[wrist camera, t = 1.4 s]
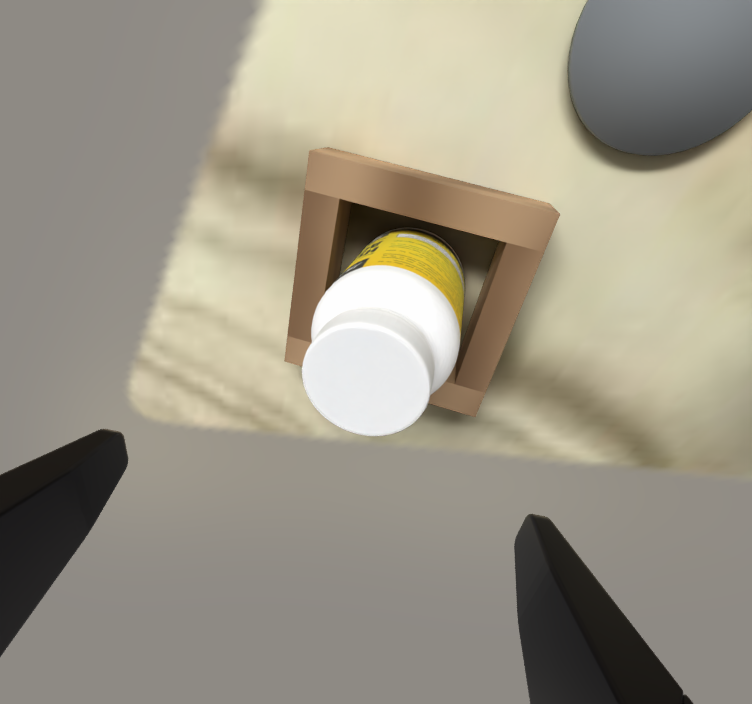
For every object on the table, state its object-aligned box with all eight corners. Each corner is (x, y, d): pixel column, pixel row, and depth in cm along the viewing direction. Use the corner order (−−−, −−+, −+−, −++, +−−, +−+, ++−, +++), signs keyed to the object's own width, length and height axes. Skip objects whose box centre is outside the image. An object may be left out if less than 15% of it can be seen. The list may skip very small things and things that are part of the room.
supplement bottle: (383, 203, 20) (315, 264, 11) (486, 258, 20) (496, 357, 11) (340, 300, 22) (258, 407, 14) (431, 347, 23) (406, 480, 14)
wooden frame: (549, 203, 18) (560, 214, 16) (474, 389, 23) (475, 417, 21) (327, 147, 19) (309, 150, 17) (301, 339, 24) (284, 361, 22)
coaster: (851, -65, 13) (867, -73, 13) (715, 173, 17) (723, 175, 16) (624, -110, 14) (630, -119, 13) (538, 130, 17) (540, 131, 17)
